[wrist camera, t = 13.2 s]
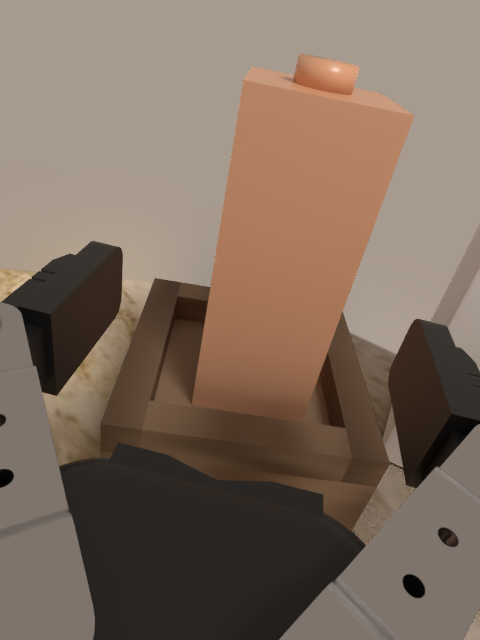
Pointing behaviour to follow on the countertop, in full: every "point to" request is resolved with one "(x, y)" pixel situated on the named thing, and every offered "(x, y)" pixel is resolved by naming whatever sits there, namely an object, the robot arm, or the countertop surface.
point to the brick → (293, 232)
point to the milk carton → (453, 324)
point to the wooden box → (243, 429)
